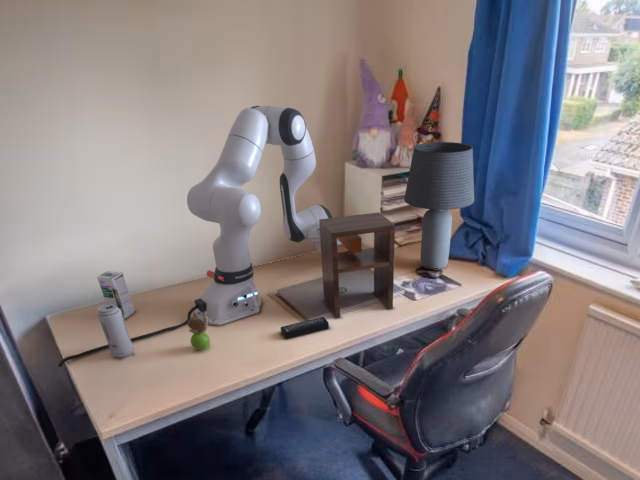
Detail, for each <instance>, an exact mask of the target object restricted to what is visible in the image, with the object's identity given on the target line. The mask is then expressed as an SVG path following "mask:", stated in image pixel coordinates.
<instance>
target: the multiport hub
mask: <svg viewBox="0 0 640 480" xmlns="http://www.w3.org/2000/svg"><path fill="white" fill-rule="evenodd" d="M329 328H330V325H329V321H328V320H327V319H326V318H325V317H324V316H320V317H317V318H313V319H308V320H303V321H300V322H296V323H295V322H294V323H291V324H287V325H283V326H280V335H282V337H283V338H284V340H290V339H294V338H297V337H298V338H299V337H303V336H306V335H310V334H314V333H317V332H323V331H327V330H329Z"/></svg>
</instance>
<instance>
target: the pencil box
mask: <svg viewBox="0 0 640 480" xmlns="http://www.w3.org/2000/svg"><path fill="white" fill-rule="evenodd" d="M337 239H338V240H339V241H340V242H341V243H342V244H341V245H342V246H343V247H344V248H345V249H346V251H349V252H350V253H351V254H352V253H359V252H361V249H362V237H361V236H360V235H351V236H344V237H337Z"/></svg>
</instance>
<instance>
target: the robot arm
mask: <svg viewBox="0 0 640 480" xmlns="http://www.w3.org/2000/svg"><path fill="white" fill-rule="evenodd" d="M266 144H268V145H272V146H280V151H281V154H282V157H283V169H282V173H281V174H280V175H279V190H280V199H281V206H282V207H281V208H282V216H283V230H284V234H285V235H286V238H287V239H288V240H289V241H292V242H294V243H298V244H299V243H301V242H302V241H304V240H307V241H308V242H309V243H312V245H313V249H314V250H315V251H316V252H318V253H319V254H321V241H320V225H319V219H328V218H333V216H332V213H331V211H330V210H329V209H328V207H326V206H324V205H322V204H319V203H317V204H314V205H312V206H310V207H307V208H305V209H304V210H301V211H299V212H296V211H297V209H296V201H295V196H296V193H297V191H298V189H299V188H300V187H301V186H302V185H303V184H304V183H306V181H307V180H308V179H309V178H310V177H311V176H312V174H313V173H314V171H315V169H316V166H317V159H316V153H315V148H314V145H313V141H312V138H311V134H310V133H309V130H308V127H307V124H306V120H305V118H304V116H303V114H302V113H301V111H299V110H297V109H295V108H292V107H282V106H277V105H261V106H260V105H254V106H251V107H245V108H243V109H242V110H241V111H240V112H239V114H238V115H237V117H236V118H235V120H234V122H233V124H232V126H231V128H230V130H229V132H228V135H227V137H226V140H225V143H224V146H223V148H222V149H221V150H222V151H221V153H220V156H219V157H218V160H217V162H216V163H215V165H214V167H213V168H212V169H211V171H209V173H208V174H207V175H206V176H205V177H204V179H202V180H201V181H199V183H197V184H195V185H193V186H192V187H191V188H190V189H189V190H188V192H187V196H186V204H187V209H188V210H189V212H190V213H191V214H192V215H194V216H195V217H196V218H199V219H201V220H203V221H206V222H210V223H215V224H218V225H219V227H220V233H219V236H218V237H217V238H216V239H215V240H214V241H213V243H212V251H213V257H214V261H215V268H214V271H212V270H209V269H208V270H207V271H206V274H205V275H206V276H207V277H209V278H211V279H212V278H213V281H212V282H211V283H210V284H209V286H208V287H207V288H206V289H205V291H204V292H203V294H202V295H201V296H200V298H197V299H195V300H194V306H193V307H192V308H191V309H190V310H189V311H188V312H187V317H186V318H187V319H186V320H185V321H184V322H182V323H181V324H178V325H173V326H168V327H165V328H162V329H159V330H156V331H152V332H149V333H146V334H142V335H138V336H135V337H130V340H131V343H132V342H135V341H138V340H142V339H145V338H149V337H153V336H156V335H159V334H162V333H166V332H168V331H174V330H176V329H179V328H181V327H184V326H186V325H188V320H189V319H190V318H192V313H193V312H194V311H195V312H194V314H195V317H196V318H199V319H200V320H201V321H202V322H203V323H204V320H203V316H207V317H208V325H211V326H222V325H225V324H228V323H232V322H234V321H237V320H241V319H244V318H246V317H249V316H253V315H256V314H258V313H260V307H261V305H262V300H261V297H260V296H259V294H258V291H257V287H256V284H255V279H254V268H253V263H252V262H251V258H250V257H251V256H250V247H249V237H250V233H251V230H252V228H253V227H254V226H255V225H256V224H257V223H258V221H259V219H260V217H261V213H262V208H261V207H262V206H261V202H260V200H259V198H258V197H257V196H256V195H255V194H253V193H252V192H249V191H247V190H245V189H242V188H241V187H243V186H244V185H245V184H247V183H249V182H250V181H251V180H253V179H254V177H255V175H256V172H257V170H258V167H259V164H260V162H261V159H262V156H263V153H264V150H265V146H266ZM360 235H361V234H359V236H360ZM341 245H343V244H342V243H341V242H340V241H339V240H338V239H337V247H339V246H341ZM205 312H207V315H205ZM106 349H110V348H109V345H108V344H105V345H101V346H99V347H98V346H97V347H95V348H93V349H88V350H86V351H83V352H81V353H77V354H72V355H68V356H66V357H64V358H63V359H61V360H60V362H59V363H58V365H57V367H58V368H61V367H63V365H64V364H65V363H66V362H68V361H71V360H75V359H78V358H81V357H84V356H86V355H90V354H93V353H95V352H99V351H102V350H106Z"/></svg>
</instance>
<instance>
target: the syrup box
mask: <svg viewBox="0 0 640 480" xmlns="http://www.w3.org/2000/svg"><path fill="white" fill-rule="evenodd" d="M96 278H97V281H98V285H99V287H100V290H101V293H102V296H103V299H104V301H105V305H106V304H115V305H117V307H118V308H119V309H120V310H121V313H122V316H123V319H124V320H126V319H127V318H129V317H130V316H132V315H133V314H134V313H135V309H134V306H133V302H132V299H131V295H130V292H129V289H128V285H127V281H126V279H125V275H124V273H123V272H121V271H120V272H119V271H111V270H108V271H105V272H103V273H101V274H99V275H98V276H96Z"/></svg>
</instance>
